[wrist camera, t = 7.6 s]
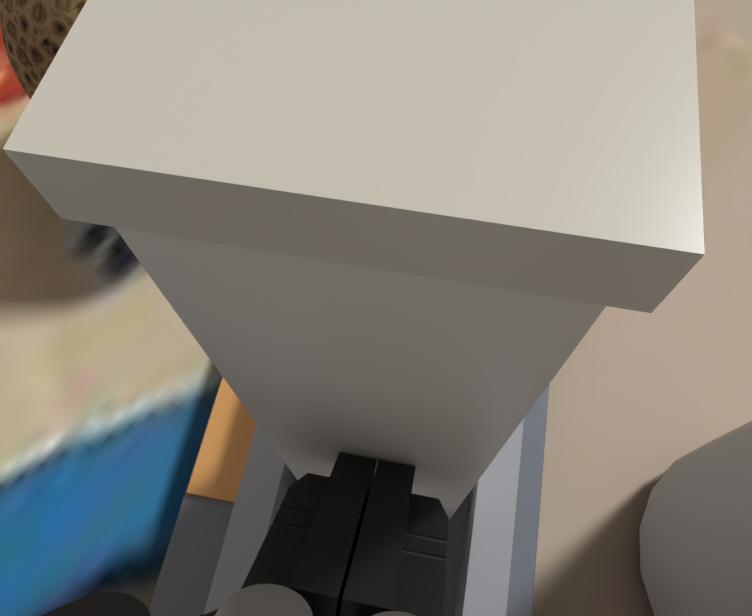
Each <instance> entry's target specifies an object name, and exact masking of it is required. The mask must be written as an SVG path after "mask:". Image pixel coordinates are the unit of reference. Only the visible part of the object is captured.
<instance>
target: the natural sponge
mask: <svg viewBox="0 0 752 616" xmlns="http://www.w3.org/2000/svg"><path fill="white" fill-rule="evenodd" d="M86 1H87V0H0V24H1V29H2V35H3V40H4V44H5V47H6V51H7V54H8V58H9V61H10V63H11V65H12V68H13V70H14V72H15V74H16V76H17V78H18V80H19V81H20V83H21V85H22V87H23V89H24V91H25V92H26V93H27V95H28V96H29V98H30V100H31V98H32V96H33V94H34V93H35V91H36V89H37V87H38V86H39V84H40V82H41V80H42V79H43V77H44V75H45V73H46V72H47V70H48V68H49V66H50V65H51V63H52V61H53V59H54V58H55V56H56V54H57V52H58V50H59V49H60V47H61V45H62V43H63V42H64V40H65V38H66V36H67V35H68V33H69V31H70V29H71V28H72V26H73V24H74V22H75V21H76V19H77V17H78V15H79V14H80V12H81V10H82V8H83V7H84V5H85V3H86Z"/></svg>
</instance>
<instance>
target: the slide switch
mask: <svg viewBox="0 0 752 616" xmlns="http://www.w3.org/2000/svg"><path fill="white" fill-rule="evenodd" d="M548 393H549V384H548V386H547V387H546V389H545V390H544V391H543V393H542V394H541V395H540V397H539V398H538V399H537V401H536V402H535V404H534V405H533V406H532V408H531V409H530V410H529V412H528V413H527V414H526V416H525V417H524V419H523V420H522V421H521V423H520V424H519V425H518V427H517V428H516V429H515V431H514V432H513V434H512V435H511V436H510V438H509V439H508V440H507V442H506V443H505V445H504V446H503V447H502V449H501V450H500V451H499V453H498V454H497V455H496V457H495V458H494V460H493V461H492V462H491V464H490V465H489V466H488V468H487V469H486V470H485V472H484V473H483V475H482V476H481V477H480V479H479V480H478V481H477V483H476V484H475V485H474V487H473V488H472V490H471V491H470V492H469V494H468V495H467V496H466V498H465V499H464V500H463V502H462V503H461V505H460V506H459V507H458V509H457V510H456V511H455V513H454V514H453V515H452V517H451V518H450V520H449V523H448V540H447V557H446V573H445V590H444V607H443V616H532V605H533V591H534V578H535V565H536V552H537V538H538V525H539V512H540V499H541V485H542V472H543V459H544V446H545V432H546V419H547V406H548ZM296 481H298V480H297V479H296V477H295V476H294V474H293V473H292V472H291V470H290V469H289V468H288V466H287V465H286V463H285V462H284V461H283V459H282V458H281V456H280V455H279V454H278V452H277V451H276V450H275V448H274V447H273V445H272V444H271V443H270V441H269V440H268V438H267V437H266V436H265V434H264V433H263V432H262V430H261V429H260V427H259V426H258V425H257V423H256V422H255V421H254V419H253V418H252V416H251V415H250V414H249V412H248V411H247V409H246V408H245V407H244V405H243V404H242V403H241V401H240V400H239V398H238V397H237V396H236V394H235V393H234V392H233V390H232V389H231V387H230V386H229V385H228V383H227V382H226V380H225V379H224V378H223V376H222V377H221V381H220V384H219V387H218V390H217V393H216V396H215V400H214V403H213V406H212V409H211V412H210V416H209V419H208V422H207V425H206V428H205V431H204V435H203V438H202V441H201V444H200V447H199V451H198V454H197V457H196V460H195V463H194V466H193V470H192V473H191V476H190V479H189V482H188V485H187V489H186V492H185V495H184V498H183V501H182V505H181V508H180V511H179V514H178V517H177V520H176V524H175V527H174V530H173V533H172V536H171V539H170V543H169V546H168V549H167V552H166V555H165V559H164V562H163V565H162V568H161V571H160V574H159V578H158V581H157V584H156V587H155V590H154V593H153V597H152V600H151V603H150V606H149V609H148V610H149V612H150V614H151V616H200V615H204V614H207V613H209V612H212V611H214V610H216V609H218V608H220V606H221V605H222V603H223V602H224V601H225V600H226V599H227V598H228V597H229V596H231V595H232V594H234V593H235V592H237V591H239V590H240V589H241V587H242V585H243V584H244V582H245V579H246V577H247V575H248V573H249V571H250V569H251V567H252V565H253V563H254V560H255V558H256V556H257V554H258V552H259V550H260V548H261V546H262V544H263V541H264V539H265V537H266V535H267V533H268V531H269V529H270V527H271V525H272V524H273V520H274V518H275V516H276V514H277V512H278V510H279V509H280V506H281V504H282V501H283V499H284V497H285V495H286V493H287V491H288V489H289V487H290V486H291V485H292V484H294V483H295V482H296Z"/></svg>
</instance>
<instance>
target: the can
mask: <svg viewBox="0 0 752 616" xmlns="http://www.w3.org/2000/svg"><path fill="white" fill-rule="evenodd" d="M640 572H641V575H642V578H643V581H644V585H645V588H646V591H647V594H648V597H649V601H650V604H651V607H652V610H653V613H654V616H752V421H750V422H748V423H746V424H744V425H742V426H740V427H738V428H736V429H734V430H732V431H730V432H728V433H726V434H724V435H722V436H720V437H718V438H716V439H714V440H712V441H710V442H708V443H706V444H704V445H703V446H701V447H699V448H697V449H696V450H694V451H692V452H690V453H689V454H687V455H685V456H683V457H682V458H680V459H678V460H676V461H675V462H673V464H672V465H671V466H670V467H669V469H668V470H667V471H666V473H665V474H664V475H663V476H662V478H661V479H660V480H659V481H658V483H657V484H656V485H655V486H654V488H653V489H652V490H651V493H650V496H649V499H648V503H647V506H646V509H645V512H644V515H643V518H642V522H641V525H640Z"/></svg>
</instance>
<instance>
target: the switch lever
mask: <svg viewBox="0 0 752 616" xmlns="http://www.w3.org/2000/svg"><path fill="white" fill-rule="evenodd" d="M3 150H4V152H5V153H6V154H7V155H8V156H9V158H10V159H11V160H12V161H13V162H14V163H15V165H16V166H17V167H18V168H19V169H20V171H21V172H22V173H23V174H24V175H25V176H26V178H27V179H28V180H29V181H30V182H31V184H32V185H33V186H34V187H35V188H36V189H37V191H38V192H39V193H40V194H41V195H42V197H43V198H44V199H45V200H46V201H47V202H48V204H49V205H50V206H51V207H52V208H53V210H54V211H55V212H56V213H57V214H58V215H59V217H60V218H61V219H67V220H73V221H79V222H86V223H92V224H98V225H104V226H111V227H115V229H116V230H117V231H118V233H119V234H120V235H121V237H122V238H123V240H124V241H125V242H126V244H127V245H128V246H129V248H130V249H131V251H132V252H133V253H134V255H135V256H136V258H137V259H138V260H139V262H140V263H141V264H142V266H143V267H144V269H145V270H146V271H147V273H148V274H149V275H150V277H151V278H152V280H153V281H154V282H155V284H156V285H157V287H158V288H159V289H160V291H161V292H162V293H163V295H164V296H165V298H166V299H167V300H168V302H169V303H170V305H171V306H172V307H173V309H174V310H175V311H176V313H177V314H178V316H179V317H180V318H181V320H182V321H183V322H184V324H185V325H186V327H187V328H188V329H189V331H190V332H191V334H192V335H193V336H194V338H195V339H196V340H197V342H198V343H199V345H200V346H201V347H202V349H203V350H204V351H205V353H206V354H207V356H208V357H209V358H210V360H211V361H212V363H213V364H214V365H215V367H216V368H217V369H218V371H219V372H220V374H221V375H222V376H223V378H224V379H225V380H226V382H227V383H228V385H229V386H230V387H231V389H232V390H233V392H234V393H235V394H236V396H237V397H238V398H239V400H240V401H241V403H242V404H243V405H244V407H245V408H246V409H247V411H248V412H249V414H250V415H251V416H252V418H253V419H254V421H255V422H256V423H257V425H258V426H259V427H260V429H261V430H262V432H263V433H264V434H265V436H266V437H267V438H268V440H269V441H270V443H271V444H272V445H273V447H274V448H275V450H276V451H277V452H278V454H279V455H280V456H281V458H282V459H283V461H284V462H285V463H286V465H287V466H288V468H289V469H290V470H291V472H292V473H293V474H294V476H295V477H296V479H297V480H299V479H300V478H302V477H303V476H304V475H305V474H307V473H311V474H316V475H321V476H326V477H330V475H331V472H332V470H333V467H334V465H335V462H336V459H337V457H338V454H339V453H340V452H342V453H347V454H353V455H358V456H363V457H368V458H373V459H376V468H375V472H376V469H377V465H378V461H379V460H383V461H388V462H393V463H399V464H404V465H409V466H414V467H415V474H414V480H413V486H412V494H417V495H422V496H427V497H432V498H437V499H439V500H440V502H441V504H442V506H443V508H444V510H445V512H446V514H447V516H448V518H449V520H450V518H451V517H452V515H453V514H454V513H455V511H456V510H457V509H458V507H459V506H460V505H461V503H462V502H463V500H464V499H465V498H466V496H467V495H468V494H469V492H470V491H471V490H472V488H473V487H474V485H475V484H476V483H477V481H478V480H479V479H480V477H481V476H482V475H483V473H484V472H485V470H486V469H487V468H488V466H489V465H490V464H491V462H492V461H493V460H494V458H495V457H496V455H497V454H498V453H499V451H500V450H501V449H502V447H503V446H504V445H505V443H506V442H507V440H508V439H509V438H510V436H511V435H512V434H513V432H514V431H515V429H516V428H517V427H518V425H519V424H520V423H521V421H522V420H523V419H524V417H525V416H526V414H527V413H528V412H529V410H530V409H531V408H532V406H533V405H534V404H535V402H536V401H537V399H538V398H539V397H540V395H541V394H542V393H543V391H544V390H545V389H546V387H547V386H548V384H549V383H550V382H551V380H552V379H553V378H554V376H555V375H556V374H557V372H558V371H559V369H560V368H561V367H562V365H563V364H564V363H565V361H566V360H567V359H568V357H569V356H570V354H571V353H572V352H573V350H574V349H575V348H576V346H577V345H578V343H579V342H580V341H581V339H582V338H583V337H584V335H585V334H586V333H587V331H588V330H589V328H590V327H591V326H592V324H593V323H594V322H595V320H596V319H597V318H598V316H599V315H600V313H601V312H602V311H603V309H604V308H605V307H606V306H611V307H617V308H623V309H629V310H636V311H642V312H648V313H652V312H653V311H654V309H655V308H656V307H657V306H658V305H659V304H660V303H661V302H662V301H663V299H664V298H665V297H666V296H667V295H668V294H669V293H670V292H671V291H672V290H673V288H674V287H675V286H676V285H677V284H678V283H679V282H680V281H681V280H682V279H683V277H684V276H685V275H686V274H687V273H688V272H689V271H690V270H691V269H692V267H693V266H694V265H695V264H696V263H697V262H698V261H699V260H700V259H701V258H702V256H703V255H704V232H703V208H702V184H701V159H700V135H699V110H698V86H697V62H696V37H695V13H694V0H87V1H86V3H85V5H84V7H83V8H82V10H81V12H80V14H79V15H78V17H77V19H76V21H75V22H74V24H73V26H72V28H71V29H70V31H69V33H68V35H67V36H66V38H65V40H64V42H63V43H62V45H61V47H60V49H59V50H58V52H57V54H56V56H55V58H54V59H53V61H52V63H51V65H50V66H49V68H48V70H47V72H46V73H45V75H44V77H43V79H42V80H41V82H40V84H39V86H38V87H37V89H36V91H35V93H34V94H33V96H32V98H31V100H30V101H29V103H28V105H27V107H26V108H25V110H24V112H23V114H22V115H21V117H20V119H19V121H18V123H17V124H16V126H15V128H14V130H13V131H12V133H11V135H10V137H9V138H8V140H7V142H6V144H5V145H4V147H3Z"/></svg>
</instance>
